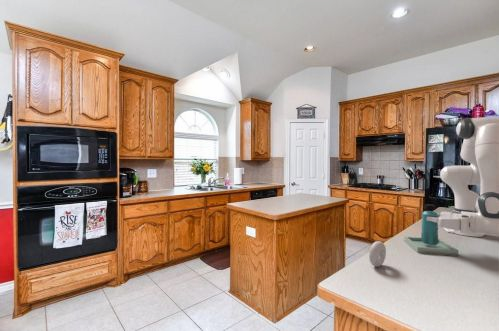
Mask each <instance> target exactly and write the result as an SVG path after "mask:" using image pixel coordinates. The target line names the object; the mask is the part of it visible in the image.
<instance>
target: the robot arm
mask: <svg viewBox="0 0 499 331" xmlns="http://www.w3.org/2000/svg"><path fill="white" fill-rule="evenodd" d="M455 132H456V135H457V137H458V138H460V139H463V142H462V144H461V150H460V153H459V155H460V158H461V159H462V160H463V161H464V162H466V163H469V164H470V165H448V166H447V165H446V166H443V168H442V169H441V170H440V173H439V176H440V179H441V181H442V182H444V183H445V184H447V186H448V187H450V189H451V191H452V193H453V195H454V207H453V209H452V212H449V211H441V212H440V213H437V214H438V218H437V217H436V218H435V217H429V216H427V221H432V222H436V223H438V227H440V228H442V229H443V230H444V231H446V232H448V233H452V234H456V235H460V236H465V237H476V238H478V237H481V238H482V237H484V236H487V235H488V236H491V237H492V236H493V237H499V116H487V117H485V116H484V117H472V118H471V117H466V118H463V119H461V120H460V121H459V122H458V123H457V126H456V128H455ZM469 186H480V187H479V188H480V189H479V193H477V192H475V191H473V190H470V189H469Z"/></svg>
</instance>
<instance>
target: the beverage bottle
mask: <svg viewBox="0 0 499 331" xmlns="http://www.w3.org/2000/svg"><path fill="white" fill-rule="evenodd" d="M424 209H425V210H424V211H422V213H421V237H420V238H422V242H423V243H425V244H429V245H437V244H438V239H439V226H438V223H436V222H432V221H427V216H429V217H435V218H436V217H437V218H438V214H439V213H437V212H436V211H434V210H436V205H435V204H429V203H427V204H424ZM431 210H432V211H431Z"/></svg>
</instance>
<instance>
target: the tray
mask: <svg viewBox="0 0 499 331" xmlns="http://www.w3.org/2000/svg"><path fill="white" fill-rule="evenodd" d="M403 242H405V243H406V244H407V246H409V247H410V248H411V249H412V250H414V252H416V253H418V254H428V255H429V254H430V255H441V256H442V255H443V256H455V257H458V256H459V249H457V248H455V247H454V246H452V245H451V244H449V243H447V242H446V241H444V240H443V239H441V238H438V244H437V245H429V244H425V243H423V242H422V238H421V237H416V236H404V238H403Z"/></svg>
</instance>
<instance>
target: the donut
mask: <svg viewBox="0 0 499 331" xmlns="http://www.w3.org/2000/svg"><path fill="white" fill-rule="evenodd" d="M386 255H387V249H386V245H385V243H383V242H382V241H380V240H376V241H374V242H373V243H372V245H371V246H370V249H369V255H368V257H369V262H370V264H371V265H372V266H373V267H376V268H379V267H381V266H382V265H383V264H384V262H385V259H386Z"/></svg>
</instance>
